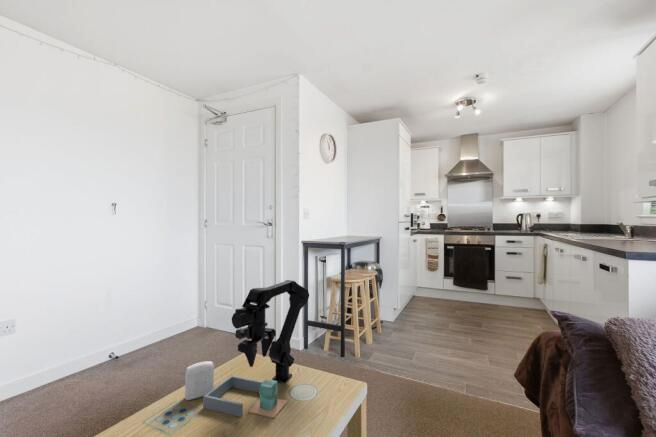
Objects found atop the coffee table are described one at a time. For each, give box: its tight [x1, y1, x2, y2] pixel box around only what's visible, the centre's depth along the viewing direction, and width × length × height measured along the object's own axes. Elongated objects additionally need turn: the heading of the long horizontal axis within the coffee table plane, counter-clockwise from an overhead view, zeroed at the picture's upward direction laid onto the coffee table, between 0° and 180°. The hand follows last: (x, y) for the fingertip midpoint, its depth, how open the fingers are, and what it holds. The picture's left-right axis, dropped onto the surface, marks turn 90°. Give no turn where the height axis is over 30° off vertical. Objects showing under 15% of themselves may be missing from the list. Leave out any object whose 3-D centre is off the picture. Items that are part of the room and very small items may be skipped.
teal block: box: [259, 378, 278, 411], centre depth 108 cm, size 4×4×8 cm
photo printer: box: [184, 360, 215, 401], centre depth 116 cm, size 10×4×12 cm, turn 123°
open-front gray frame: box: [202, 375, 265, 418], centre depth 113 cm, size 16×16×4 cm
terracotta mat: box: [248, 398, 288, 419], centre depth 108 cm, size 10×10×1 cm
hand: (257, 361), depth 118 cm, fingers open, 9 cm apart
